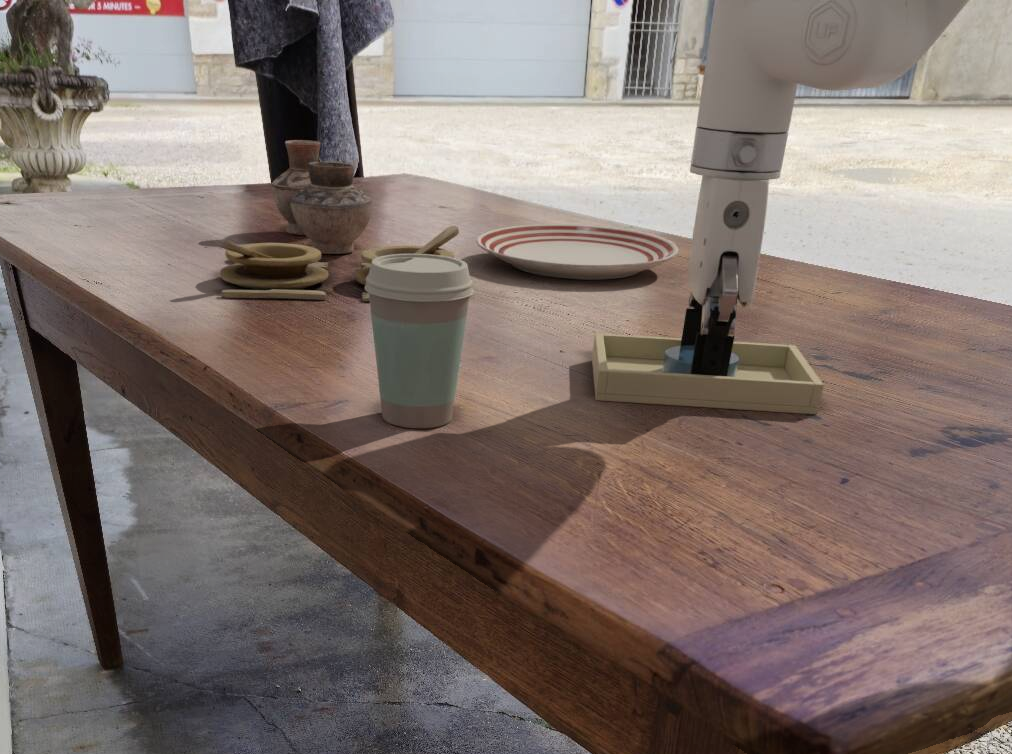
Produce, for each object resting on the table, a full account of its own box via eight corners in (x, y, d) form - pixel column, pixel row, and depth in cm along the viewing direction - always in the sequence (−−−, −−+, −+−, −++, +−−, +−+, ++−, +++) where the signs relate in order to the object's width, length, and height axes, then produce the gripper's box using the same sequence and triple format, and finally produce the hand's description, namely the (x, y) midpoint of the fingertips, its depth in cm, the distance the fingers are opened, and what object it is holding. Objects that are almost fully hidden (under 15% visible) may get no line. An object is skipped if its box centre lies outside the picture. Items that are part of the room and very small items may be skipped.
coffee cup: (432, 397, 92) (436, 249, 85) (487, 425, 86) (496, 268, 79) (347, 410, 88) (344, 256, 81) (399, 440, 82) (400, 277, 75)
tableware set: (454, 270, 138) (455, 220, 135) (470, 304, 122) (472, 248, 119) (227, 265, 135) (223, 214, 132) (213, 299, 119) (208, 242, 116)
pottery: (331, 226, 162) (329, 138, 155) (384, 257, 144) (384, 158, 137) (260, 228, 159) (255, 138, 152) (304, 260, 140) (300, 158, 133)
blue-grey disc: (729, 371, 101) (733, 347, 99) (739, 391, 95) (744, 367, 94) (658, 366, 101) (662, 343, 100) (664, 387, 95) (668, 362, 94)
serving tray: (789, 372, 103) (795, 345, 102) (816, 414, 92) (824, 384, 91) (591, 359, 104) (594, 332, 103) (595, 400, 93) (599, 370, 92)
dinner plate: (630, 297, 128) (634, 268, 127) (439, 267, 139) (439, 240, 137) (701, 264, 148) (706, 239, 146) (529, 240, 159) (531, 216, 157)
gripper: (802, 169, 80) (756, 396, 90) (766, 147, 94) (729, 345, 104) (704, 164, 80) (669, 390, 90) (682, 143, 95) (654, 341, 104)
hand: (701, 366), depth 97 cm, fingers open, 8 cm apart
